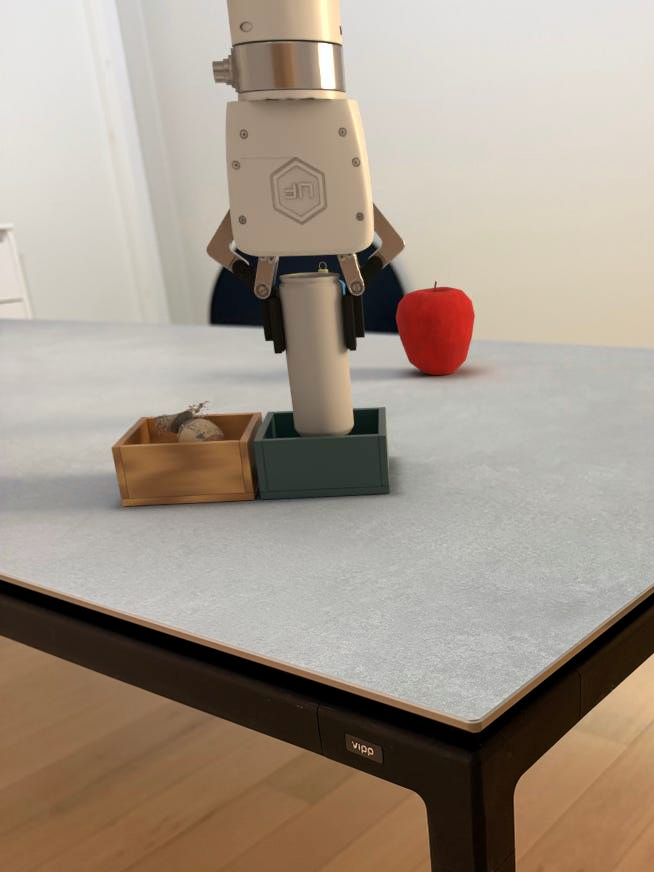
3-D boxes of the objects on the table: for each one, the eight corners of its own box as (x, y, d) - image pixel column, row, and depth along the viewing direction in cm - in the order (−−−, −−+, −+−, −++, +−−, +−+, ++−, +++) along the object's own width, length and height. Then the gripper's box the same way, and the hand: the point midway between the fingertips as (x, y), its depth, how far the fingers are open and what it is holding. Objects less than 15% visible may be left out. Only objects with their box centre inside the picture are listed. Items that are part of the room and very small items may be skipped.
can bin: (260, 499, 74) (253, 441, 72) (273, 464, 83) (267, 411, 81) (389, 493, 75) (386, 435, 72) (388, 459, 83) (385, 406, 81)
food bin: (122, 506, 73) (110, 447, 71) (150, 470, 82) (141, 416, 80) (254, 500, 74) (246, 441, 72) (267, 465, 83) (261, 412, 81)
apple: (429, 363, 125) (425, 275, 121) (491, 369, 121) (489, 278, 116) (383, 376, 118) (377, 283, 113) (447, 383, 113) (443, 286, 108)
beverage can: (316, 443, 74) (299, 279, 69) (283, 433, 77) (265, 276, 72) (366, 432, 77) (354, 274, 72) (332, 423, 80) (318, 271, 75)
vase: (227, 462, 81) (261, 472, 76) (168, 483, 78) (200, 494, 73) (208, 399, 78) (243, 405, 74) (147, 418, 75) (179, 425, 71)
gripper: (154, 76, 62) (197, 362, 70) (415, 71, 63) (427, 353, 71) (176, 86, 69) (213, 346, 77) (411, 81, 70) (423, 338, 78)
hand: (316, 346), depth 74 cm, fingers closed on beverage can, 4 cm apart
